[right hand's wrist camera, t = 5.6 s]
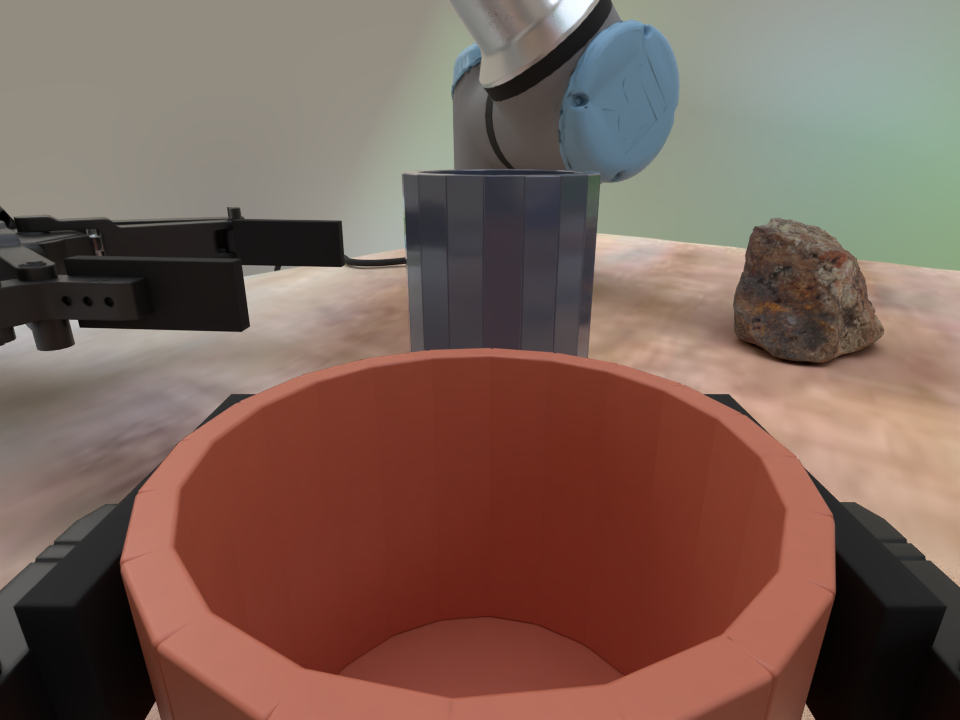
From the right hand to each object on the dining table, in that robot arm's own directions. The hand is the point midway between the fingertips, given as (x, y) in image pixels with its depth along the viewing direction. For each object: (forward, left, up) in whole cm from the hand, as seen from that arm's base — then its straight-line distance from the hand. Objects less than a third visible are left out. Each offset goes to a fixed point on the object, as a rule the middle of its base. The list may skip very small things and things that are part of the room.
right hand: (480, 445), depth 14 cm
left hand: (+16, -9, +1) cm, 18 cm away
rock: (-7, -37, -6) cm, 38 cm away
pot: (-2, +3, -6) cm, 8 cm away
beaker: (+7, -14, -6) cm, 17 cm away
